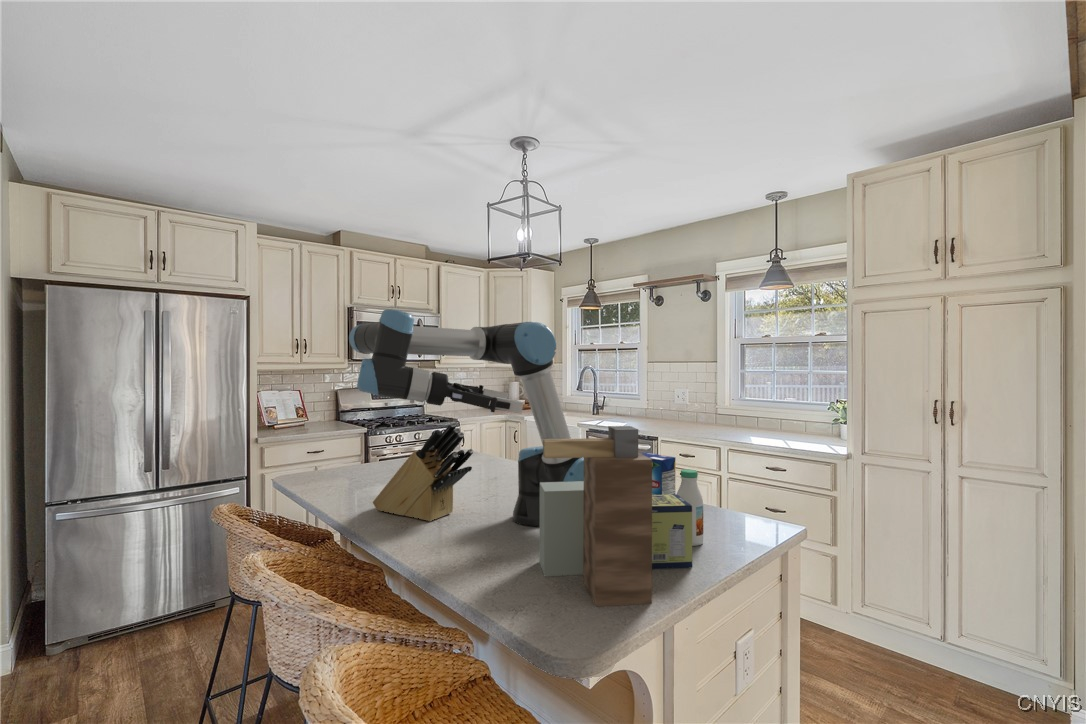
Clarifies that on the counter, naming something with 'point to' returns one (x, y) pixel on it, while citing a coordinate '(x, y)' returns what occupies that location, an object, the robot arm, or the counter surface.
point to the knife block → (427, 478)
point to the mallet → (595, 445)
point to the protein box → (671, 532)
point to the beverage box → (662, 474)
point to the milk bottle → (693, 503)
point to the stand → (618, 530)
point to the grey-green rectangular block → (561, 528)
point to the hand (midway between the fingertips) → (514, 403)
